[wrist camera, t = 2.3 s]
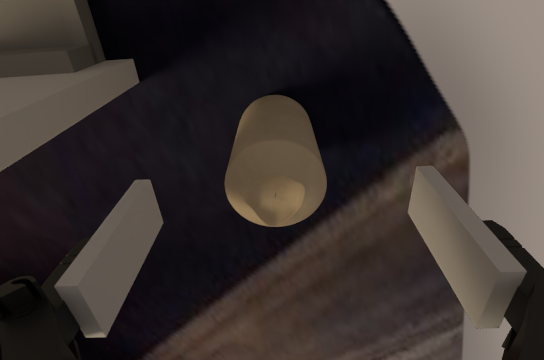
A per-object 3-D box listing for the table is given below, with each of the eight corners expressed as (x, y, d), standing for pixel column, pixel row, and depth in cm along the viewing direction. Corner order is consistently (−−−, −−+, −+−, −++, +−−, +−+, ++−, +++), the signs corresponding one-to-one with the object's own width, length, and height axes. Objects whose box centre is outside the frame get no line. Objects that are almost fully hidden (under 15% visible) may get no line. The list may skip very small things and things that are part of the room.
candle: (301, 165, 26) (314, 251, 17) (235, 154, 25) (215, 236, 17) (318, 101, 23) (345, 164, 14) (245, 87, 23) (227, 143, 14)
